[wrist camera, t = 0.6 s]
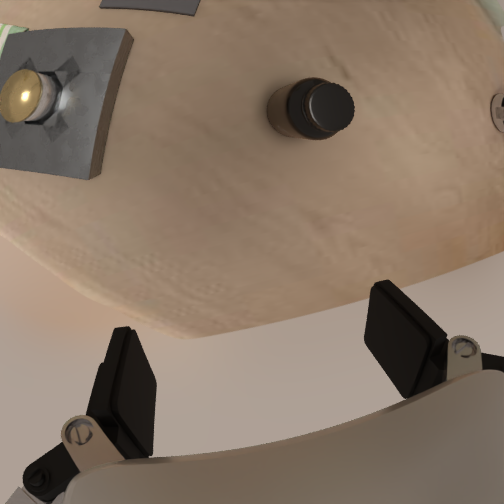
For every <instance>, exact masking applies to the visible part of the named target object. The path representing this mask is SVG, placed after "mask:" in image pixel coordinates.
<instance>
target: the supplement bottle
mask: <svg viewBox="0 0 504 504" xmlns="http://www.w3.org/2000/svg"><path fill="white" fill-rule="evenodd" d="M354 108H355V106H354V102H353V100H352V97H351V96H350V93H348V91H347V90H346V89H344V87H342V86H340V85H339V84H335V83H331V82H329V81H327V80H325V79H321V78H315V77H312V78H305V79H302V80H299V81H297V82H294V83H292V84H290V85H287V86H285V87H282V88H280V89H279V90H277V91H276V92H275V93H274V94H273V95H272V96H271V98H270V99H269V102H268V105H267V116H268V119H269V122H270V124H271V125H272V126H273V128H274V129H275V130H276V131H278V132H279V133H281V134H282V135H285V136H288V137H294V138H302V139H309V140H324V139H327V138H330V137H332V136H334V135H335V134H336V133H337V132H338V131H340V130H343V129H344V128H345V127H347V126H348V125H349V124H350V122H351V121H352V119H353V117H354V112H355V110H354Z"/></svg>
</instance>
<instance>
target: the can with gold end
mask: <svg viewBox="0 0 504 504" xmlns="http://www.w3.org/2000/svg"><path fill="white" fill-rule="evenodd" d="M62 91H63V86H62V84H61V82H60V81H59V79H57V78H54V77H50V76H47V75H43V74H40V73H36V72H35V71H32V70H28V69H23V70H19V71H17V72H15V73H14V74H13V75H11V76H10V77H9V79H8V80H7V81H6V83H5V84H4V86H3V88H2V91H1V94H0V112H1V115H2V116H3V118H4V119H5V120H7V121H9V122H22V121H38V120H48V119H49V118H50V117H51V116H52V115H53V114H54V113H55V112H56V111H57V110H58V109H59V104H60V100H61V96H62Z"/></svg>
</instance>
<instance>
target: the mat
mask: <svg viewBox="0 0 504 504" xmlns="http://www.w3.org/2000/svg"><path fill="white" fill-rule="evenodd" d="M199 2H200V0H102V2H101V4H100V6H99V7H100V8H113V9H136V10H149V11H159V12H168V13H176V14H182V15H189V16H194V15H195V12H196V10H197V7H198V5H199Z"/></svg>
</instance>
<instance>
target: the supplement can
mask: <svg viewBox="0 0 504 504" xmlns="http://www.w3.org/2000/svg"><path fill="white" fill-rule="evenodd" d="M491 112H492V118H493V121H494V123H495V125H496V126H497V128H498V129H499V130H500V131H501V132H504V94H497V95H496V96H495V97H494V99H493V101H492V106H491Z"/></svg>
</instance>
